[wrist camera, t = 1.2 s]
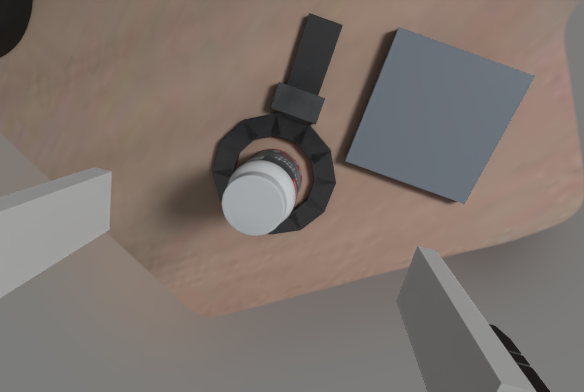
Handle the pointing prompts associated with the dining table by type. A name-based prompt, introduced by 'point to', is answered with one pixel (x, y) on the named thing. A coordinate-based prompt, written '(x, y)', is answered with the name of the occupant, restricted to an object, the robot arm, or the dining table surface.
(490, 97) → the slate trivet
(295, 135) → the iron eye
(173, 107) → the dining table surface
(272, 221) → the pill bottle
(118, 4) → the dining table surface
